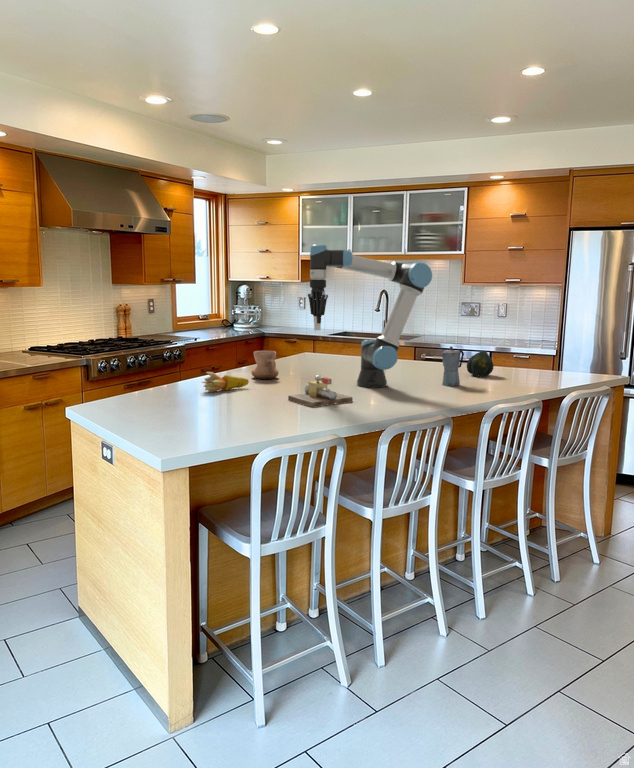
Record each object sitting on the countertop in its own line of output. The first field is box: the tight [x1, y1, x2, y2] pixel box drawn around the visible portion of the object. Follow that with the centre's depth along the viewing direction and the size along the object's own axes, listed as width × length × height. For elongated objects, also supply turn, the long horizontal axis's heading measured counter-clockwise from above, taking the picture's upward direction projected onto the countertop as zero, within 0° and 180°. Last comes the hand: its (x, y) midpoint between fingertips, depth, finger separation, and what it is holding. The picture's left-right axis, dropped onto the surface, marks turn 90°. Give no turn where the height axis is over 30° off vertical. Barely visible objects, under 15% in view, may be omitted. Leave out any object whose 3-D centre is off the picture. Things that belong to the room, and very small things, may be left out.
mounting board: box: [287, 392, 353, 408], centre depth 274 cm, size 22×18×2 cm
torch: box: [201, 371, 249, 393], centre depth 295 cm, size 8×8×25 cm
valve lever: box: [314, 374, 332, 386], centre depth 270 cm, size 12×3×2 cm, turn 26°
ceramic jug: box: [251, 350, 279, 380], centre depth 330 cm, size 18×14×14 cm
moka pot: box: [441, 346, 465, 387], centre depth 318 cm, size 10×15×20 cm, turn 127°
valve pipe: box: [304, 380, 337, 400], centre depth 273 cm, size 6×19×7 cm, turn 36°
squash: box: [466, 350, 495, 377], centre depth 350 cm, size 14×15×15 cm
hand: (317, 330), depth 290 cm, fingers closed
